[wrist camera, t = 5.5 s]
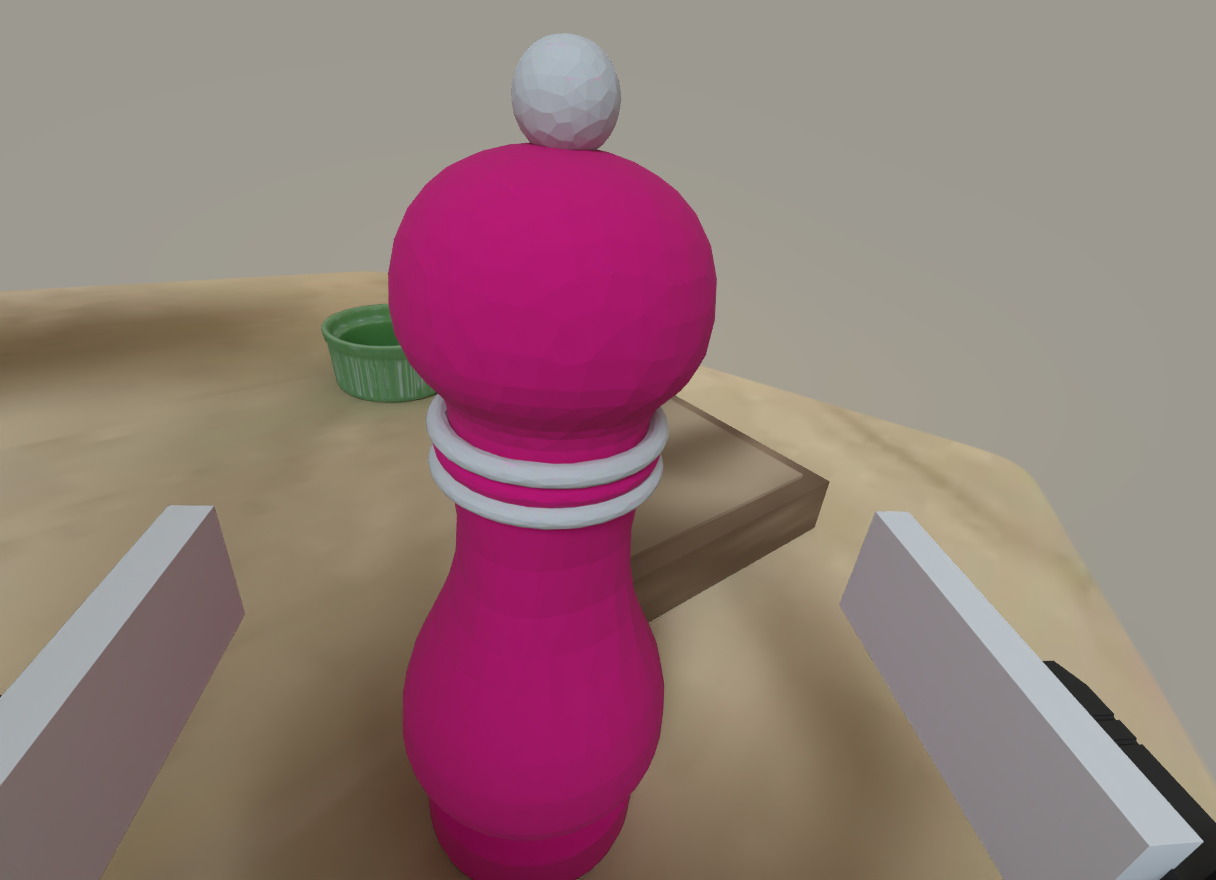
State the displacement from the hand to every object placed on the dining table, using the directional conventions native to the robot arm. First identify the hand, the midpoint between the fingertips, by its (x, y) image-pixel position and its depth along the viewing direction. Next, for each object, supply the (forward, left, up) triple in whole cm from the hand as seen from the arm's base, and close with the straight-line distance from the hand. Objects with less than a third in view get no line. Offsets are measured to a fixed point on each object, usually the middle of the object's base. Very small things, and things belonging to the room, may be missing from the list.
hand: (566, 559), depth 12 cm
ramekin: (-33, +9, -11) cm, 36 cm away
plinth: (-12, +14, -11) cm, 21 cm away
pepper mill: (-2, +1, -11) cm, 11 cm away
